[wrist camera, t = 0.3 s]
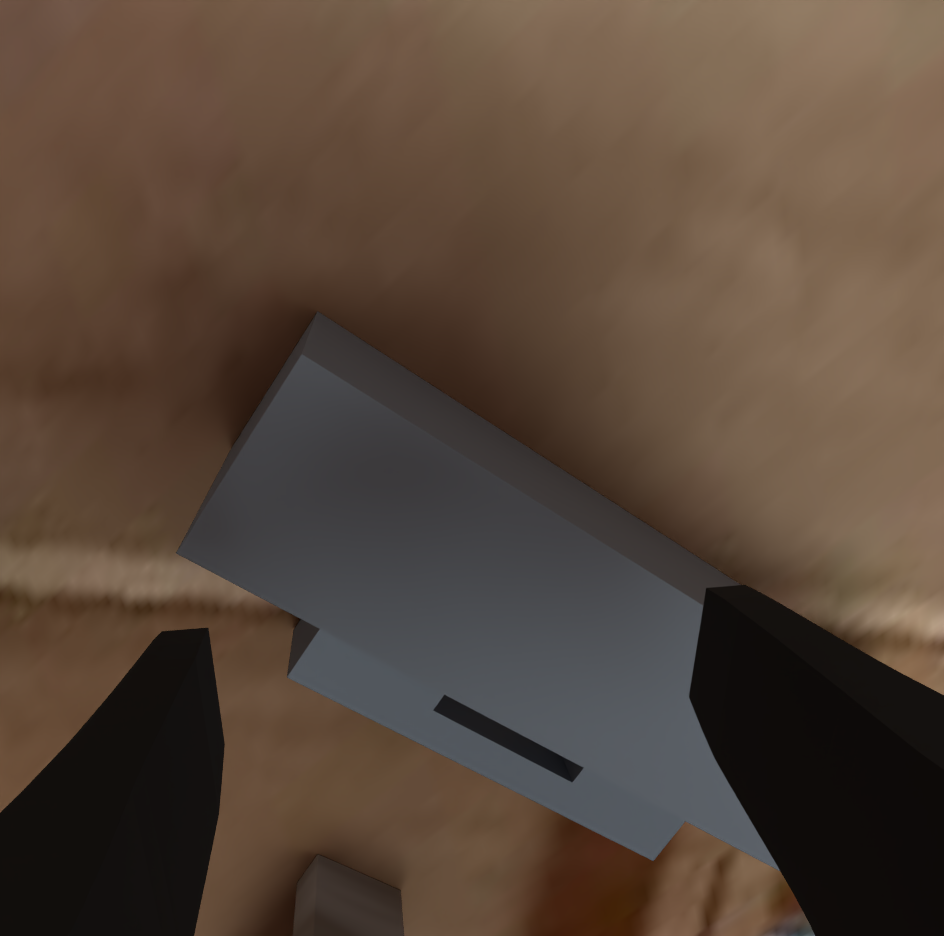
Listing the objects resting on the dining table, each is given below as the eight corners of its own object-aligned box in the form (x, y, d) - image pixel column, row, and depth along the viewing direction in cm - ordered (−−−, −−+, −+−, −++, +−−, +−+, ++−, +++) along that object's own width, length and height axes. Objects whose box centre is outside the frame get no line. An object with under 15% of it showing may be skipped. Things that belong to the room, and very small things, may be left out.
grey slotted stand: (718, 851, 27) (838, 1054, 21) (160, 560, 22) (77, 709, 15) (869, 668, 26) (1047, 821, 19) (317, 311, 20) (301, 354, 14)
